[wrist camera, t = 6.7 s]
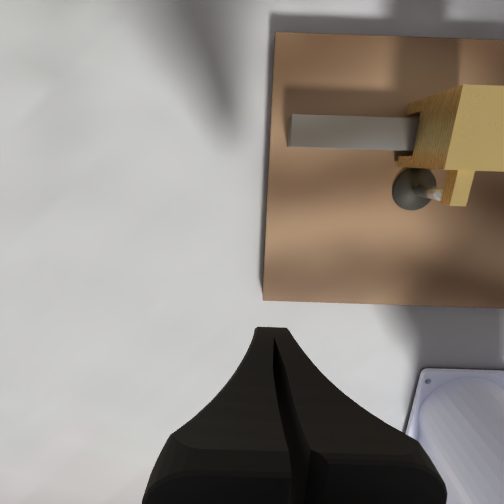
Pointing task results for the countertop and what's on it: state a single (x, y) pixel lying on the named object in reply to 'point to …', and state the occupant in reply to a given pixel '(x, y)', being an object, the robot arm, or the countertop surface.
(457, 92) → the leg
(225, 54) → the countertop surface
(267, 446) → the robot arm
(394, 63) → the board
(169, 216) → the countertop surface
